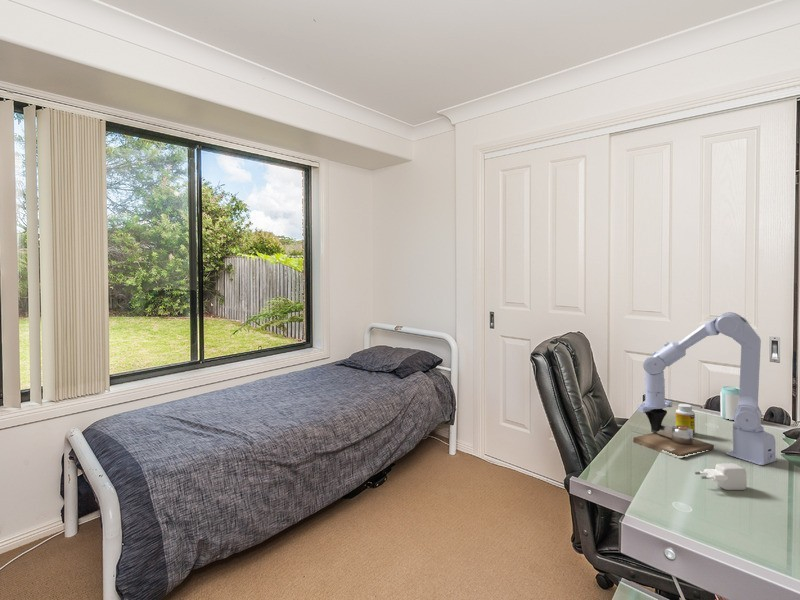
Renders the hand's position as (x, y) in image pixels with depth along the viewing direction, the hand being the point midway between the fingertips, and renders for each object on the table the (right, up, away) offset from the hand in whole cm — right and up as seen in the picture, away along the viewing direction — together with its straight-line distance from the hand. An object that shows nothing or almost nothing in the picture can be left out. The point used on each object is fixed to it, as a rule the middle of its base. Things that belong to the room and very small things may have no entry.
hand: (655, 430), depth 144 cm
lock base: (+2, -3, -6) cm, 7 cm away
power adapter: (-4, -5, -34) cm, 34 cm away
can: (+40, -1, +18) cm, 44 cm away
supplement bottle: (+13, -3, +4) cm, 14 cm away
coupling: (+3, -1, -3) cm, 5 cm away
